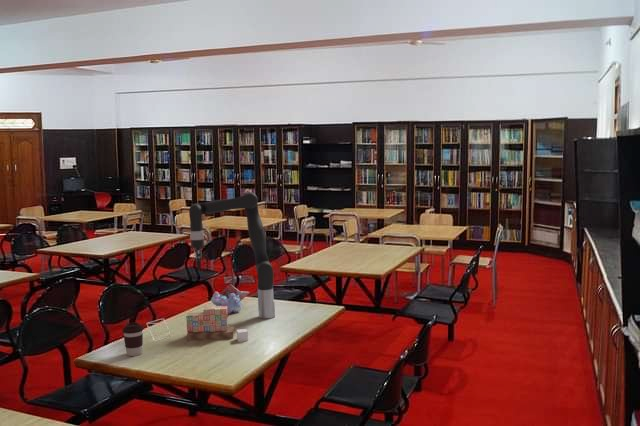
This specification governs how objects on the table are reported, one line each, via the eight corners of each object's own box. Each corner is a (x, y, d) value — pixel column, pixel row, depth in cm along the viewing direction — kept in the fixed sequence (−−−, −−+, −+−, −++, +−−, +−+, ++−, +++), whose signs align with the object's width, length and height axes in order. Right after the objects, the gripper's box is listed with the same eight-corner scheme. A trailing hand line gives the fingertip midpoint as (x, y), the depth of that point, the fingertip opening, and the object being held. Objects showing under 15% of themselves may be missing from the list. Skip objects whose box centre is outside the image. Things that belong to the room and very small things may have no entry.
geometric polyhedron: (143, 338, 309) (142, 322, 308) (161, 333, 318) (160, 317, 317) (157, 342, 301) (156, 326, 300) (174, 337, 310) (173, 320, 309)
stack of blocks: (186, 332, 305) (185, 310, 304) (189, 329, 312) (187, 307, 310) (227, 331, 306) (226, 308, 305) (228, 327, 312) (227, 305, 311)
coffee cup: (128, 350, 290) (126, 321, 288) (147, 350, 290) (145, 321, 288) (120, 357, 280) (118, 327, 278) (140, 357, 280) (139, 327, 278)
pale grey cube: (246, 338, 305) (246, 328, 304) (248, 340, 300) (247, 331, 300) (237, 339, 304) (236, 329, 303) (238, 341, 299) (238, 332, 298)
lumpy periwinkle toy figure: (207, 308, 348) (221, 283, 347) (208, 298, 369) (222, 274, 368) (236, 323, 352) (250, 298, 351) (236, 312, 373) (250, 289, 372)
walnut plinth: (234, 333, 315) (234, 326, 314) (233, 339, 305) (232, 332, 304) (190, 335, 313) (190, 328, 313) (187, 341, 304) (186, 334, 303)
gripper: (204, 239, 326) (206, 267, 328) (202, 236, 340) (204, 263, 342) (191, 240, 324) (192, 268, 326) (189, 237, 338) (191, 264, 340)
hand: (198, 266), depth 334 cm, fingers open, 8 cm apart
